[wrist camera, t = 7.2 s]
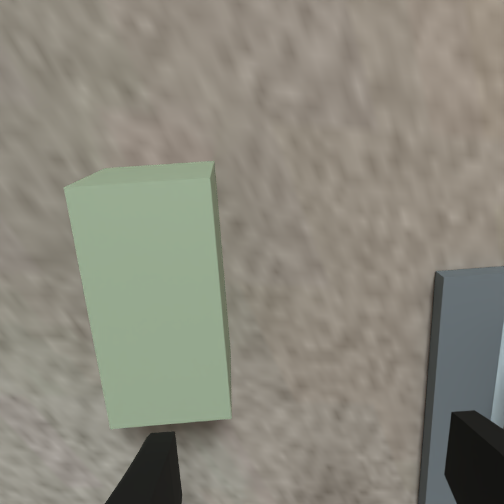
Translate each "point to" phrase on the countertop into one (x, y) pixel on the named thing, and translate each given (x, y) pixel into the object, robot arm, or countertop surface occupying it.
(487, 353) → the board
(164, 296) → the green brick
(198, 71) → the countertop surface
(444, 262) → the countertop surface
